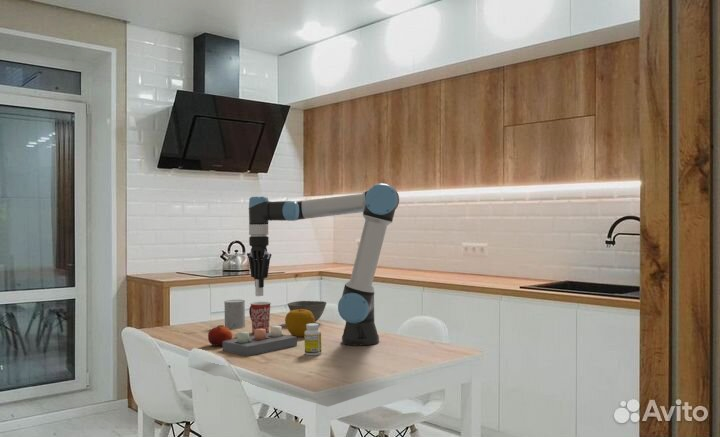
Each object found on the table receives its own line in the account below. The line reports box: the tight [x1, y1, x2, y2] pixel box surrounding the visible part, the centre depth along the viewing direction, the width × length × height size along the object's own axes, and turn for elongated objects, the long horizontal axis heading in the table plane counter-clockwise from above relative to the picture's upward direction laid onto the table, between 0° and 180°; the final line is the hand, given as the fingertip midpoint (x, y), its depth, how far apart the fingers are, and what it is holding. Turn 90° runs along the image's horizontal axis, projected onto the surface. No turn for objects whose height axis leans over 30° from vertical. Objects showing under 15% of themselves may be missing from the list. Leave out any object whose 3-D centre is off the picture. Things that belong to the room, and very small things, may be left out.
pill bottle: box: [303, 322, 322, 356], centre depth 225 cm, size 6×6×11 cm
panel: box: [222, 331, 298, 357], centre depth 237 cm, size 16×24×4 cm, turn 137°
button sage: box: [236, 331, 250, 344], centre depth 231 cm, size 4×4×4 cm
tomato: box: [207, 324, 233, 347], centre depth 244 cm, size 9×9×8 cm
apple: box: [284, 309, 316, 338], centre depth 262 cm, size 13×13×11 cm
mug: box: [248, 301, 272, 335], centre depth 270 cm, size 13×9×14 cm
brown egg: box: [253, 329, 266, 341], centre depth 237 cm, size 4×4×4 cm
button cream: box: [270, 325, 283, 338], centre depth 243 cm, size 4×4×4 cm
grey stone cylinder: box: [224, 299, 246, 330], centre depth 286 cm, size 10×10×12 cm
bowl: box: [286, 300, 327, 323], centre depth 293 cm, size 19×19×10 cm
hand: (259, 295), depth 238 cm, fingers closed
